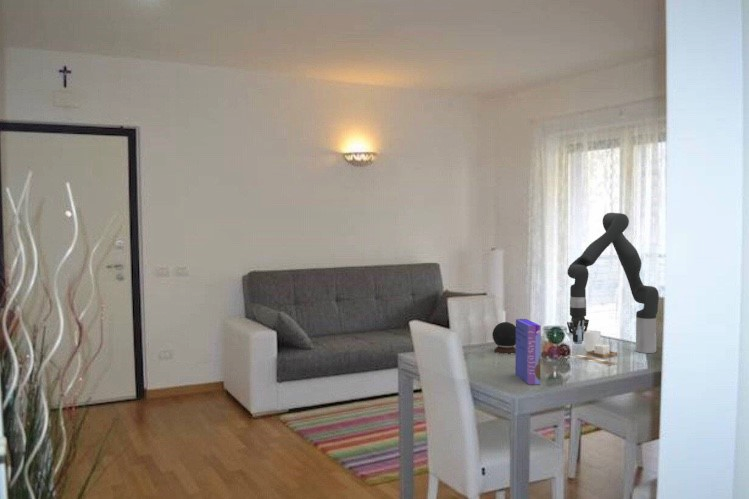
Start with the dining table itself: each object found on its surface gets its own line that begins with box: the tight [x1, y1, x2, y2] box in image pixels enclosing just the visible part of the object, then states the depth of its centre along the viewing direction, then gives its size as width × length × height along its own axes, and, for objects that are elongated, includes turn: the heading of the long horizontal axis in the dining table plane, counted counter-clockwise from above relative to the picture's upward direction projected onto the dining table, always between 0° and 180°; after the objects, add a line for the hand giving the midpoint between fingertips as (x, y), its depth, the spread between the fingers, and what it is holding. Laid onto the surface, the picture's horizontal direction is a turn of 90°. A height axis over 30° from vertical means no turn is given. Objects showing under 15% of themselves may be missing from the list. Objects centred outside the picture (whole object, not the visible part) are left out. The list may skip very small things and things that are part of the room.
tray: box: [586, 350, 618, 360], centre depth 303 cm, size 10×10×2 cm
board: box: [569, 354, 617, 367], centre depth 294 cm, size 7×22×1 cm, turn 34°
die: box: [594, 343, 610, 355], centre depth 303 cm, size 5×5×5 cm
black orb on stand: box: [492, 321, 516, 355], centre depth 315 cm, size 13×13×15 cm
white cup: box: [583, 329, 602, 352], centre depth 316 cm, size 8×8×10 cm
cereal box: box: [514, 318, 542, 386], centre depth 259 cm, size 17×5×24 cm, turn 5°
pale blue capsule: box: [573, 326, 583, 345], centre depth 301 cm, size 4×4×9 cm
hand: (578, 341), depth 301 cm, fingers closed on pale blue capsule, 3 cm apart
